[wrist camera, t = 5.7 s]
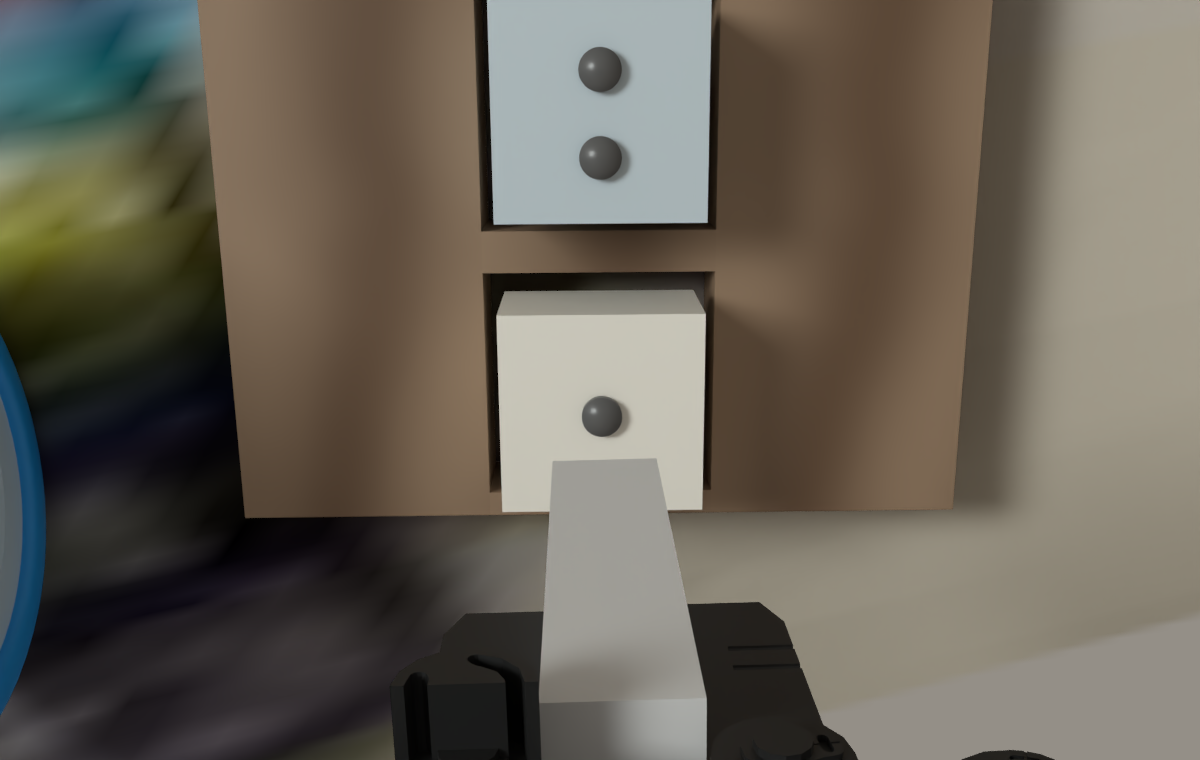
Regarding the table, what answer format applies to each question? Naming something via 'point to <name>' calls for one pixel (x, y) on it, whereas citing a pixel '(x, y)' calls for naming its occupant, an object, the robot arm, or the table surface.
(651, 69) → the two-dot tile
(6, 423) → the alarm clock
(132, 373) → the table surface
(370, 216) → the board
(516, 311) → the tile
